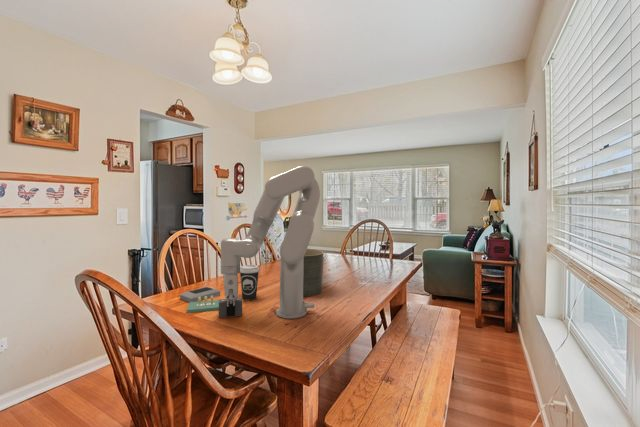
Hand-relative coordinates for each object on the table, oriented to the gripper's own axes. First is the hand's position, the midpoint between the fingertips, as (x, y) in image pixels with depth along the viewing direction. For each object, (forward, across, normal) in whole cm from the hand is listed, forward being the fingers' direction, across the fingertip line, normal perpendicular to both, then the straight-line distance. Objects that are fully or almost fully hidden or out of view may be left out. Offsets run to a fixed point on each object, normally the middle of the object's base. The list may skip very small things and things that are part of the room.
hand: (230, 311), depth 122 cm
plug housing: (+1, 0, 0) cm, 1 cm away
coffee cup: (+2, +20, -9) cm, 22 cm away
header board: (+1, +12, +10) cm, 16 cm away
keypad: (+2, +27, +13) cm, 30 cm away
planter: (+2, +25, -36) cm, 44 cm away
